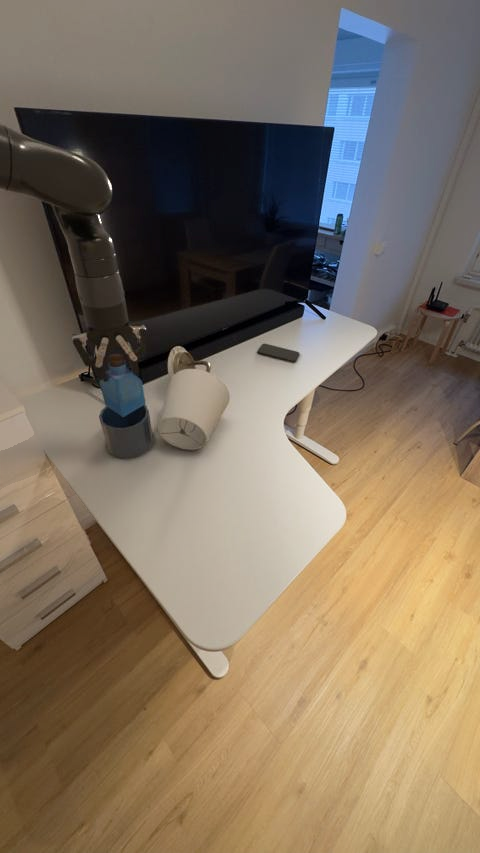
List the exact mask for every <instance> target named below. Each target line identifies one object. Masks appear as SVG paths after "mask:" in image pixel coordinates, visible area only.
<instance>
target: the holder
mask: <svg viewBox="0 0 480 853" xmlns="http://www.w3.org/2000/svg"><path fill="white" fill-rule="evenodd" d="M98 419H99V423H100V427H101V429H102V433H103V437H104V440H105V444H106V448H107V450H108V452H109V453H110V454H111V455H112V456H114V457H116V458H119V459H127V460H128V459H134V458H137V457H140V456H142V455H145V454H146V453H147V452H148V451H149V450H150V449H151V448H152V446H153V444H154V434H153V429H152V422H151V417H150V410H149V408H148V406H147V405H146V404H145V405H143V406H141V407H140V408H138V409H136V410H135V411H133V412H131V413H130V414H128V415H126V416H124V417H122V416H121V415H119V414H118V413H116V412H115V411H113V410H112V409H110V408H109V407H107V406H106V405H105V406H104V407H103V408H102V409H101V410H100V413H99V415H98Z"/></svg>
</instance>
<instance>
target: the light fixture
mask: <svg viewBox="0 0 480 853" xmlns="http://www.w3.org/2000/svg"><path fill="white" fill-rule="evenodd" d="M196 366H205V367H206V369H205V370H203V369H199V368H196ZM211 370H212V366H211V363H210V362H208V361H206V360H194V357H193V356H192V355H191V354H190V352H188V351H187V350H186V349H185V348H184V347H183V346H180V345H179V346H174V347H173V348H172V349H171V350H170V352H169V354H168V357H167V373H168V374H167V375H168V378H169V383H168V387H167V390H166V394H165V398H164V400H163V404H162V408H161V412H160V416H159V419H158V422H157V432H158V434H159V436H161V438H162V439H163V440H164V441H165V442H167V443H168V444H170V445H172V446H174V447H176V448H178V449H183V450H186V451H187V450H188V451H193V450H199V449H202V448H203V447H204V446H205V445H206V444H207V443H208V440H209V439H210V438H211V436H212V434H213V433H214V431H215V428H216V427H217V425H218V424H219V421H220V419H221V418H222V416H223V414H224V412H225V411H226V409H227V407H228V405H229V403H230V398H231V396H230V391H229V389H228V387H227V386H226V384H225V383H224V382H223V380H221V379H220V378H219V377H218V376H216V375H214V374H213V373H211Z"/></svg>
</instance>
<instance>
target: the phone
mask: <svg viewBox="0 0 480 853" xmlns="http://www.w3.org/2000/svg"><path fill="white" fill-rule="evenodd" d="M257 353H258V354H260V355H264V356H267V357H271V358H275V359H278V360H282V361H286V362H291V363H296V362H297V360H298V358H299V356H300V352H299V351H297V350H292V349H288V348H284V347H281V346H276V345H272V344H269V343H262V344H260V346H259V347H258V349H257Z"/></svg>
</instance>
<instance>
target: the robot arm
mask: <svg viewBox="0 0 480 853" xmlns="http://www.w3.org/2000/svg"><path fill="white" fill-rule="evenodd" d="M0 191H4V192H6V193H10V194H15V195H20V196H25V197H30V198H33V199H35V200H38V201H41V202H44V203H46V204H49V205H50V206H51V207H52V210H53V213H54V215H55V217H56V219H57V222H58V224H59V227H60V229H61V231H62V233H63V235H64V238H65V240H66V243H67V247H68V248H67V249H68V253H69V258H70V261H71V265H72V268H73V271H74V272H73V274H74V278H75V287H76V290H77V294H78V300H79V302H80V306H81V308H82V309H81V310H82V313H83V317H84V321H85V325H86V329H85V332H83V333H80V334H77V333H72V335H71V339H72V344H73V346H74V348H75V349H76V352H77V353H78V355H79V357H80V359H81V360H82V362H83V365H85V366H86V367H91V366H93V367H95V368H96V373H97V376H98V379H99V381H100V380H103V381H104V382H107V378H106V374H105V372H106V371H105V366H104V358H105V357H106V356H105V355H106V352H111V351H114V350H117V351H119V350H123V351H124V352H125V354H126V355H127V356H128V360H129V361H128V362H129V366H130V370H131V371H132V372H133V374H134V375H136V376H137V377H138V374H139V373H140V367H139V362H138V360H139V359H140V358H144V357H146V355H147V344H148V330H147V328H146V326H145V325H144V324H139V325H137V326H134V325H133V326H132V324H131V323H130V320H129V316H128V308H127V304H126V298H125V290H124V286H123V282H122V277H121V275H120V272H119V271H120V270H119V267H118V261H117V254H116V249H115V245H114V241H113V238H112V237H111V235H110V234H109V232H108V231H107V230H106V229H105V228H104V227H103V224H102V221H101V217H100V215H101V214H104V213H105V212H106V211H107V210H108V209H109V207H110V205H111V203H112V200H113V187H112V183H111V181H110V179H109V177H108V175H107V173H106V172H105V170H104V169H103V168H102V167H101V166H100V164H98V163H97V162H96V161H95V160H93V159H91V158H89V157H87V156H84V155H81V154H79V153H76V152H73V151H70V150H67V149H65V148H62V147H59V146H55V145H52V144H49V143H47V142H43V141H40V140H37V139H36V138H35V139H34V138H32V137H30V136H28V135H25V134H23V133H22V132H19V131H17V130H16V129H14V128H12V127H10V126H7V125H5V124H2V123H0ZM133 334H134V335H135V338H137V345H136V346H137V347H136V349H133V347H132V345H131V344H130V342H129V340H130V339H131V337H132V335H133ZM87 340H88V341H90V342H91V343H92V344H94V346H95V348H94V355H93V356H92V355H91V356H90V354H89V353H88V350H87V349H86V346H87Z"/></svg>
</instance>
